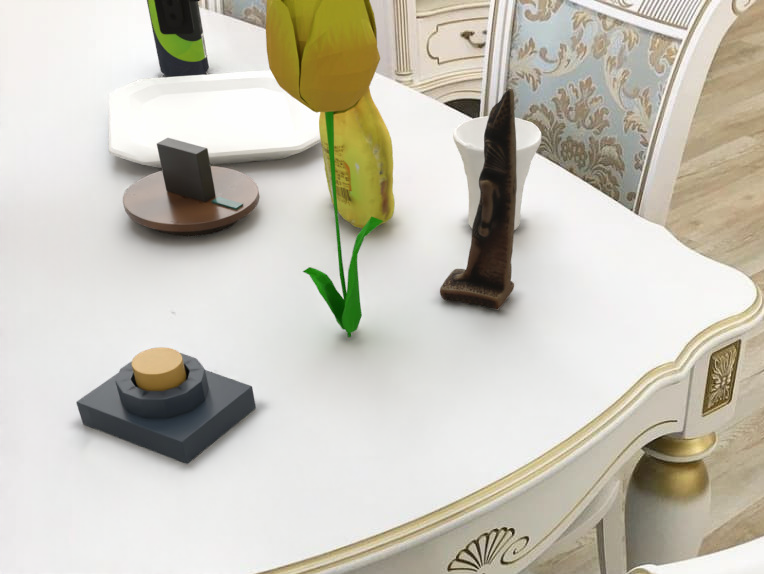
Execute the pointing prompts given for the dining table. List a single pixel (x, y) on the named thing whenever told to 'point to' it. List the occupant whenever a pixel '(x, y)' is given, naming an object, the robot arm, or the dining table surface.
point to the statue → (491, 218)
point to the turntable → (189, 192)
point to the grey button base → (168, 410)
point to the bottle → (360, 163)
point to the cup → (472, 155)
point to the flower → (327, 96)
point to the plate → (210, 118)
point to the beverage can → (180, 47)
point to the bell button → (158, 369)
